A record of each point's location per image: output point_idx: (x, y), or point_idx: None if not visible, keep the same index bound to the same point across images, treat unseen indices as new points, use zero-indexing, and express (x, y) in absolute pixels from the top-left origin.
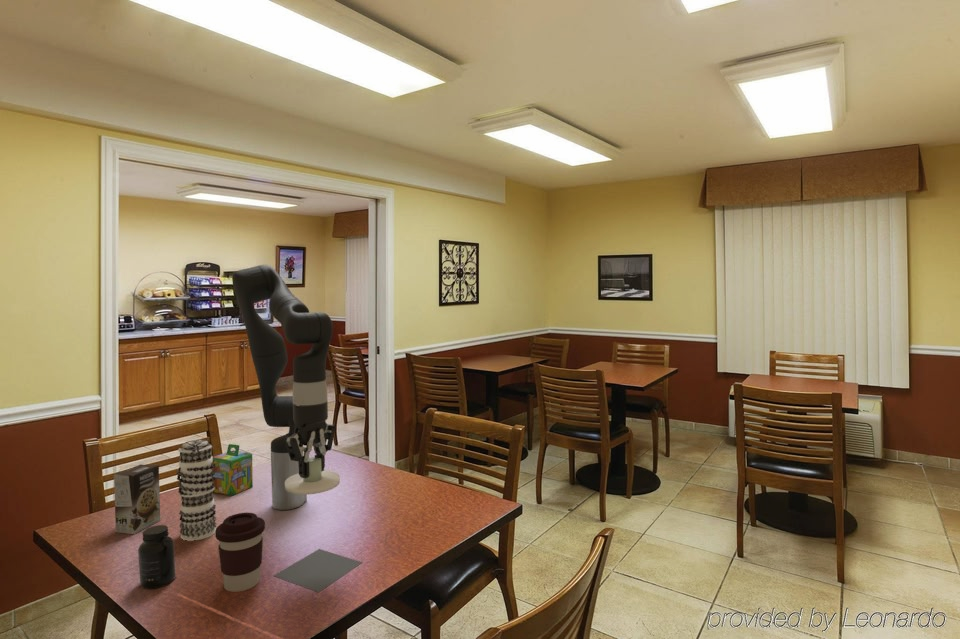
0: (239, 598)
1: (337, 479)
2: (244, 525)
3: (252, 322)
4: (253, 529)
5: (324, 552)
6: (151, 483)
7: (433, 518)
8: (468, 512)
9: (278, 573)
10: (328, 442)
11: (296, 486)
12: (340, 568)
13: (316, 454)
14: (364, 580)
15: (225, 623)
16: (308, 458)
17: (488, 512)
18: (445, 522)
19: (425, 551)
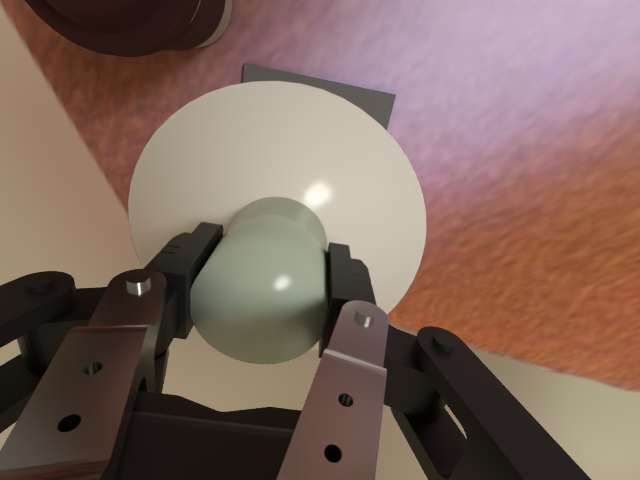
0: None
1: (315, 346)
2: (53, 3)
3: None
4: (100, 37)
5: (380, 121)
6: None
7: (594, 275)
8: (623, 329)
9: (257, 70)
10: (422, 458)
11: (157, 225)
12: None
13: (337, 315)
14: None
15: (74, 87)
16: (167, 361)
17: (619, 360)
18: (570, 304)
19: (435, 311)
